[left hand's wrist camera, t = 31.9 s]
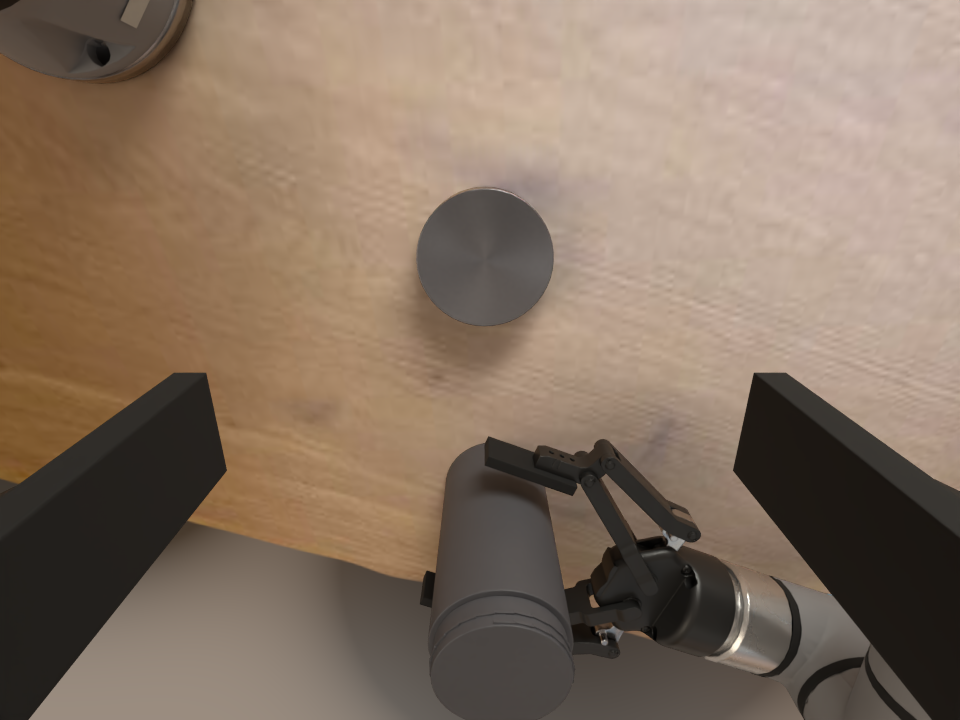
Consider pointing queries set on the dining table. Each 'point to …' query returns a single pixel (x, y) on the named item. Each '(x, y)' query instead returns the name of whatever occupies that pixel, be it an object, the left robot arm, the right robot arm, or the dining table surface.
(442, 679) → the jar
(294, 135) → the dining table surface
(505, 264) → the lid
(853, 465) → the left robot arm
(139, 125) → the dining table surface
